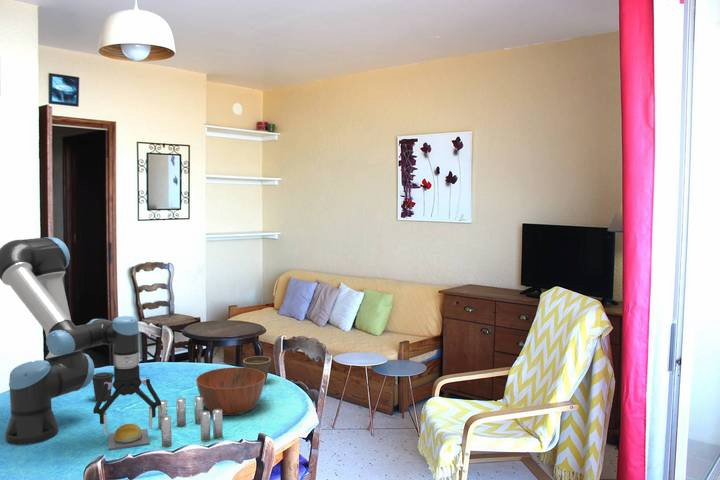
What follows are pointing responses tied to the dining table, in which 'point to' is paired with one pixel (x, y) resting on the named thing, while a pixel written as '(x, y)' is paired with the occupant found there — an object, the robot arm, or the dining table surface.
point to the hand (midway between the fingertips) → (128, 430)
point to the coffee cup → (101, 384)
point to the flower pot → (258, 364)
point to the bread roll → (128, 433)
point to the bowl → (231, 389)
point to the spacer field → (200, 418)
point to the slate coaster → (140, 442)
